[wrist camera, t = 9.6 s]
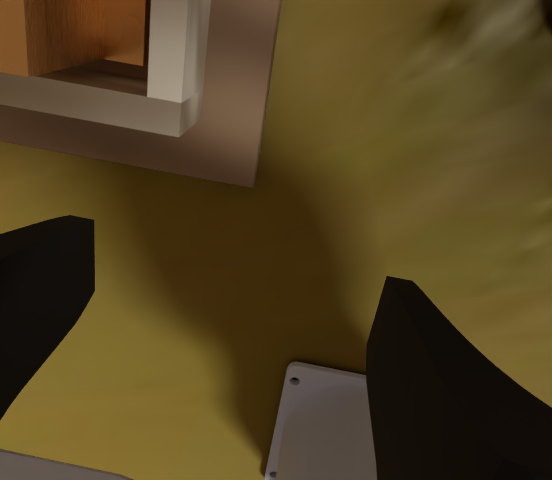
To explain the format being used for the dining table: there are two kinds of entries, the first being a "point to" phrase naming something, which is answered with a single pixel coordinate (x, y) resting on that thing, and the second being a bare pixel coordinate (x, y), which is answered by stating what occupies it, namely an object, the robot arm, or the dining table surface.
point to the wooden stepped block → (71, 34)
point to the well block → (161, 95)
